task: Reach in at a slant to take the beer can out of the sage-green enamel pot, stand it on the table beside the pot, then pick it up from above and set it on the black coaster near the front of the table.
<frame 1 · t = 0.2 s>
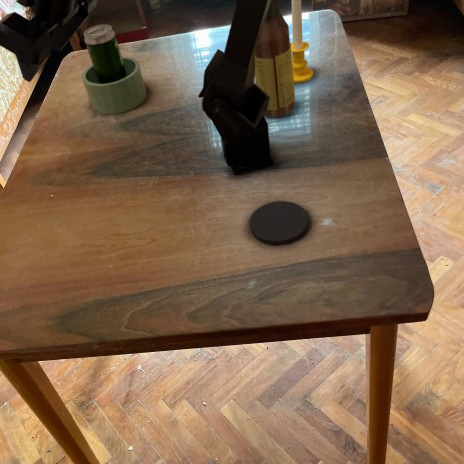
hand: (42, 64, 78), 15 cm above the table, tool tilted 35°, fingers open, 9 cm apart
pot: (119, 98, 99), on the table
candle: (298, 77, 95), on the table
sauce bottle: (276, 110, 89), on the table
beer can: (119, 97, 98), resting on pot
black coaster: (279, 224, 71), on the table
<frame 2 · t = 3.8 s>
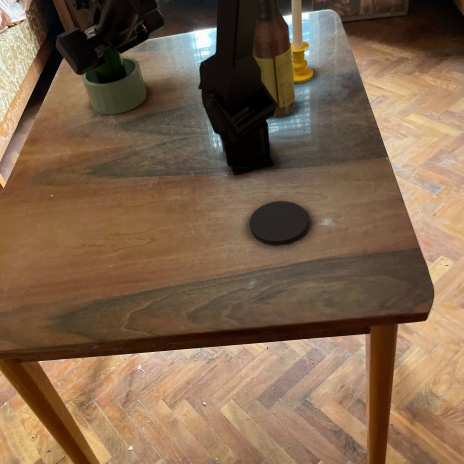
hand: (103, 59, 94), 7 cm above the table, tool tilted 45°, fingers closed on beer can, 5 cm apart
beer can: (119, 97, 98), resting on pot, touching gripper
everything else where it was.
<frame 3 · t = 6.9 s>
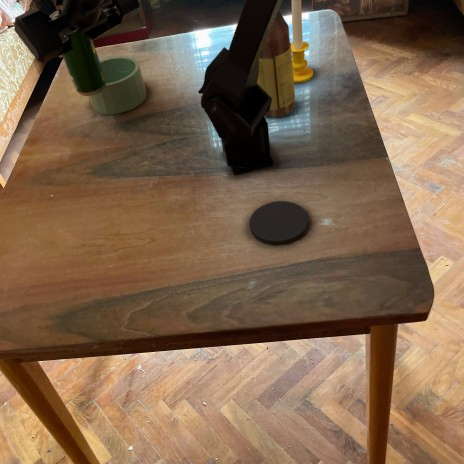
hand: (73, 47, 84), 13 cm above the table, tool tilted 45°, fingers closed on beer can, 5 cm apart
beer can: (92, 89, 89), point 6 cm above the table, touching gripper
everything else where it was.
when the fingers open (7 cm above the table, at t = 10.0 s): beer can stays where it is, on the table.
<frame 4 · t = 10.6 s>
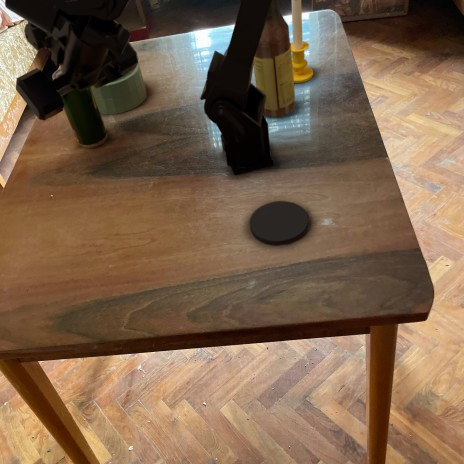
hand: (72, 98, 86), 7 cm above the table, tool tilted 45°, fingers open, 9 cm apart
beer can: (93, 140, 91), on the table
everything else where it was.
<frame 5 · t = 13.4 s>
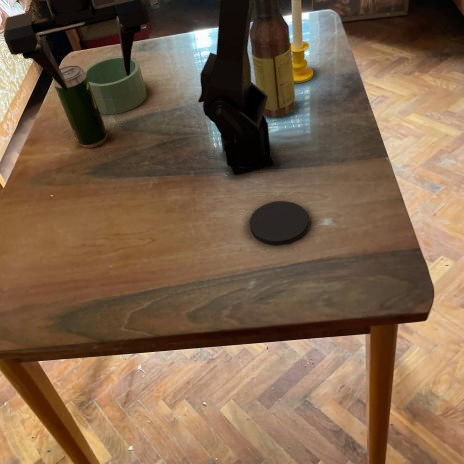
hand: (97, 82, 76), 13 cm above the table, tool pointing down, fingers open, 9 cm apart
nothing on the table moved.
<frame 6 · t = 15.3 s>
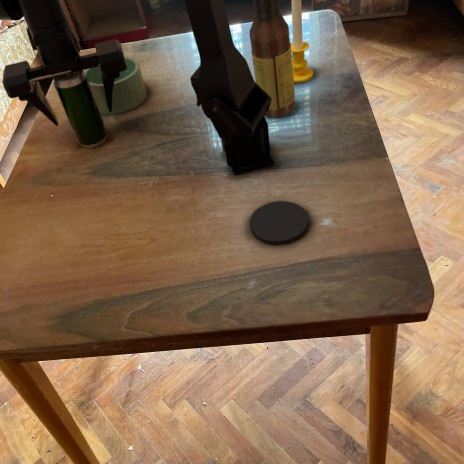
hand: (84, 117, 87), 4 cm above the table, tool pointing down
beer can: (93, 140, 91), on the table, touching gripper
everything else where it was.
when the fingers open (6 cm above the table, at t = 22.6 s): beer can stays where it is, resting on black coaster.
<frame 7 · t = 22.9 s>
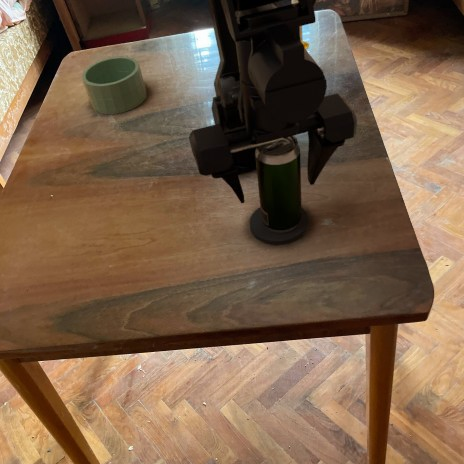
hand: (276, 192, 67), 6 cm above the table, tool pointing down, fingers open, 9 cm apart
beer can: (281, 221, 70), point 1 cm above the table, touching black coaster
everything else where it was.
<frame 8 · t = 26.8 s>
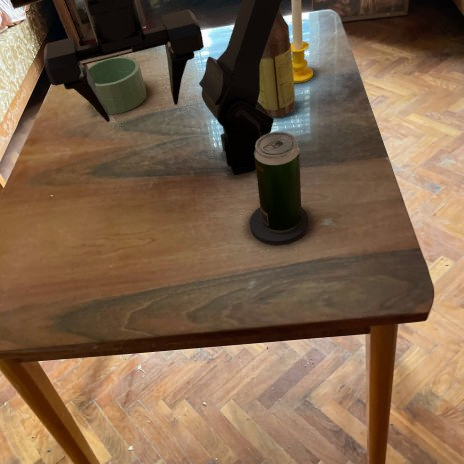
hand: (142, 111, 69), 13 cm above the table, tool pointing down, fingers open, 9 cm apart
nothing on the table moved.
at the end: beer can 0.4 cm off-centre on the black coaster, point 0.6 cm above the black coaster's base; beer can tilted 0°; the gripper is holding nothing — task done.
